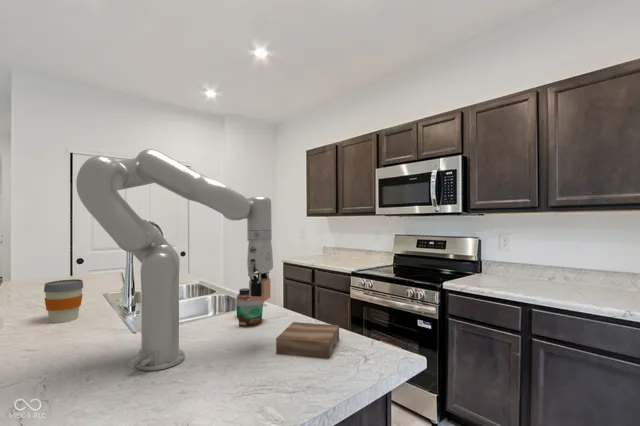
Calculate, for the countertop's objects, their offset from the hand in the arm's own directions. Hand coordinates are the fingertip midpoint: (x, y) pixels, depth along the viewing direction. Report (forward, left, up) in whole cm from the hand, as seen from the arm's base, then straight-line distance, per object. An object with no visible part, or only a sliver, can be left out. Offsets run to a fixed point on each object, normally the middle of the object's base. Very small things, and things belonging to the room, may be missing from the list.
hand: (260, 293), depth 104 cm
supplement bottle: (+28, +19, -17) cm, 37 cm away
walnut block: (+4, -15, -17) cm, 23 cm away
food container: (+20, +11, -17) cm, 28 cm away
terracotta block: (0, 0, -2) cm, 2 cm away
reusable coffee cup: (+9, +88, -17) cm, 90 cm away
